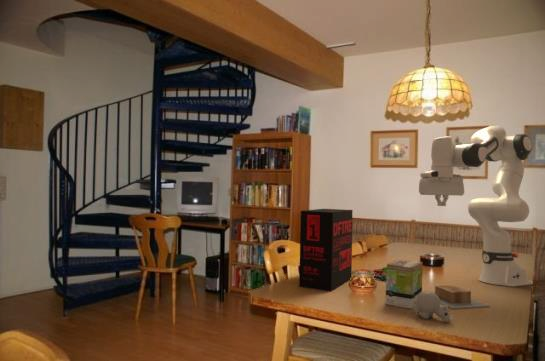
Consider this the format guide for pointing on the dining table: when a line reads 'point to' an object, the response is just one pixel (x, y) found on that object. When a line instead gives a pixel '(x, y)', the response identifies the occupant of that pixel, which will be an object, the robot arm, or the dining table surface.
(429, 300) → the round bodied animal figurine
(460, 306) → the mat
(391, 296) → the tea box
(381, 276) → the gear puzzle
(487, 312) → the dining table surface
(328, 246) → the product box
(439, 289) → the walnut block
